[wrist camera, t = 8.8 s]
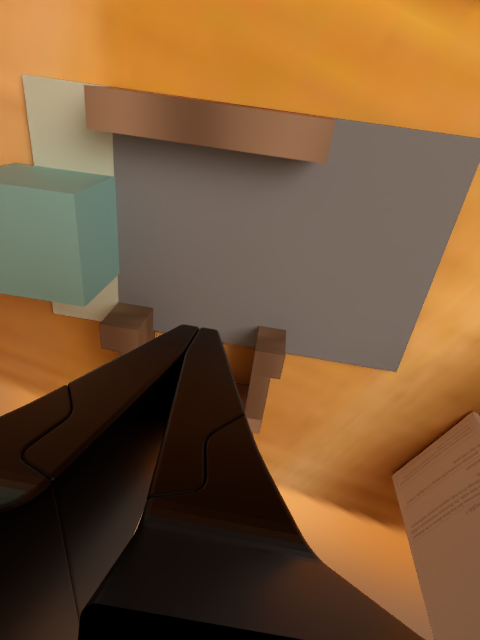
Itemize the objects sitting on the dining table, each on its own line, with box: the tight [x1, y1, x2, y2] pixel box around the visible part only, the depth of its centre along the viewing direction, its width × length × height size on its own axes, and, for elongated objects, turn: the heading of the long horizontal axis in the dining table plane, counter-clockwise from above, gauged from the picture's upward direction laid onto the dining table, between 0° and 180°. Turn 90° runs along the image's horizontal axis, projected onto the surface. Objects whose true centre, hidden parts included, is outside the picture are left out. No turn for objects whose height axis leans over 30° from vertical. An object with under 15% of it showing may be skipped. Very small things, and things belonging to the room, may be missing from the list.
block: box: [0, 163, 120, 307], centre depth 19 cm, size 5×5×4 cm
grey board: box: [22, 74, 480, 372], centre depth 20 cm, size 20×12×1 cm, turn 84°
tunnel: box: [84, 85, 336, 433], centre depth 20 cm, size 10×16×3 cm, turn 174°
